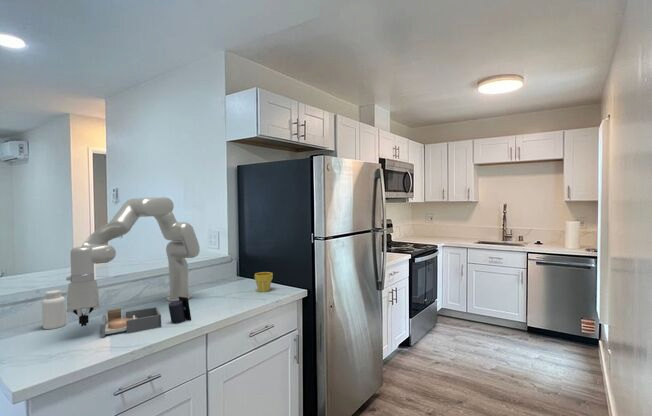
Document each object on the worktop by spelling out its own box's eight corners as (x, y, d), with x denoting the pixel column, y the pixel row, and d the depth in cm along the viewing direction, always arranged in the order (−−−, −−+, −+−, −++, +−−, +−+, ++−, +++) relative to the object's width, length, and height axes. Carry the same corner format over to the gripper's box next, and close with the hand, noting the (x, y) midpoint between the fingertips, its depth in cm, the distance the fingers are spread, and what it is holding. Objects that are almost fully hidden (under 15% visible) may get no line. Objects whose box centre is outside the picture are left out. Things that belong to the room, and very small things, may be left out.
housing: (157, 317, 159) (157, 306, 159) (161, 327, 146) (160, 315, 146) (125, 323, 153) (125, 311, 153) (126, 333, 140) (126, 320, 140)
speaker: (186, 316, 159) (183, 294, 157) (191, 320, 154) (188, 297, 153) (168, 322, 154) (166, 299, 152) (173, 326, 149) (171, 302, 148)
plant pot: (276, 289, 205) (276, 273, 205) (262, 293, 197) (262, 276, 197) (265, 287, 212) (264, 271, 212) (251, 291, 204) (250, 274, 204)
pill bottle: (40, 331, 146) (39, 294, 145) (45, 325, 153) (44, 290, 153) (64, 327, 149) (63, 292, 149) (67, 322, 156) (66, 288, 156)
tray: (137, 320, 155) (136, 309, 155) (139, 330, 142) (138, 318, 142) (103, 326, 148) (102, 315, 148) (102, 337, 136) (101, 324, 136)
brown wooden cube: (108, 321, 155) (107, 310, 155) (121, 319, 158) (120, 308, 158) (107, 324, 151) (107, 313, 151) (121, 322, 154) (121, 311, 154)
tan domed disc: (108, 325, 146) (108, 320, 146) (129, 321, 150) (129, 316, 150) (108, 330, 140) (108, 325, 140) (130, 326, 144) (130, 321, 144)
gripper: (57, 282, 132) (58, 331, 132) (105, 277, 139) (106, 324, 139) (60, 279, 138) (61, 326, 138) (105, 274, 146) (106, 319, 146)
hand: (83, 325), depth 139 cm, fingers closed
